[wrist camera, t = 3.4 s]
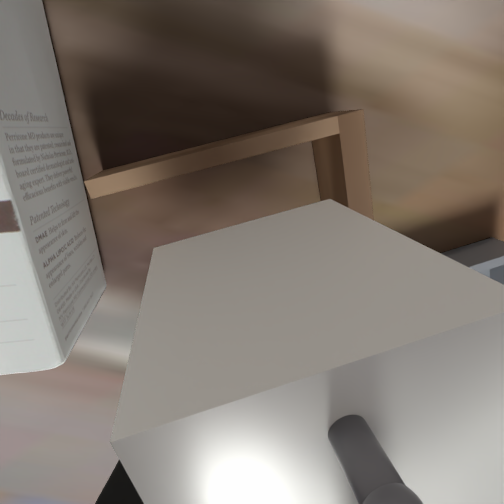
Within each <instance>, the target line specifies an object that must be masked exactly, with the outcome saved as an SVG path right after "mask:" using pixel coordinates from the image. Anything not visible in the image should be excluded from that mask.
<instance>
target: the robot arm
mask: <svg viewBox="0 0 504 504" xmlns="http://www.w3.org/2000/svg"><path fill="white" fill-rule="evenodd" d="M95 504H144V503H143V501H142V499H141V497H140V496H139V494H138V492H137V490H136V488H135V487H134V485H133V483H132V481H131V480H130V478H129V476H128V474H127V472H126V471H125V469H124V467H123V465H122V463H121V462H120V460H119V461H118V463H117V465H116V467H115V469H114V470H113V472H112V474H111V476H110V478H109V479H108V481H107V483H106V485H105V487H104V488H103V490H102V492H101V494H100V496H99V497H98V499H97V501H96V503H95Z"/></svg>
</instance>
